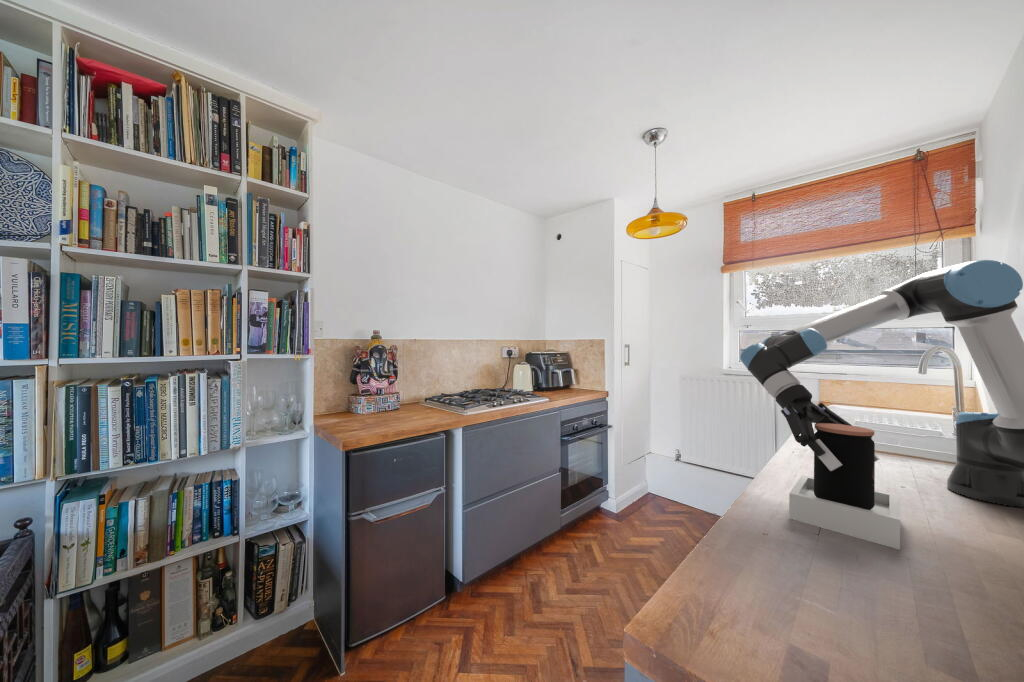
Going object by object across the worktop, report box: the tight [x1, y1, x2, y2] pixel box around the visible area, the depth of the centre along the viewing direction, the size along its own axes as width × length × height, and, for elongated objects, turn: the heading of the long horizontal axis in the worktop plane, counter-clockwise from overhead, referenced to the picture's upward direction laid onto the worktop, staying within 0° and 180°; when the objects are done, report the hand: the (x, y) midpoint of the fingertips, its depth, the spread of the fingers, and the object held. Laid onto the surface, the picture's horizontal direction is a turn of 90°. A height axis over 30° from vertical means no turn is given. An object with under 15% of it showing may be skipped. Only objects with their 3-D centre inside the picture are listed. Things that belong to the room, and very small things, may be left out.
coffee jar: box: [813, 423, 876, 510], centre depth 87 cm, size 11×11×18 cm
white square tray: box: [788, 474, 901, 550], centre depth 86 cm, size 18×18×6 cm
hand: (855, 465), depth 84 cm, fingers open, 13 cm apart
